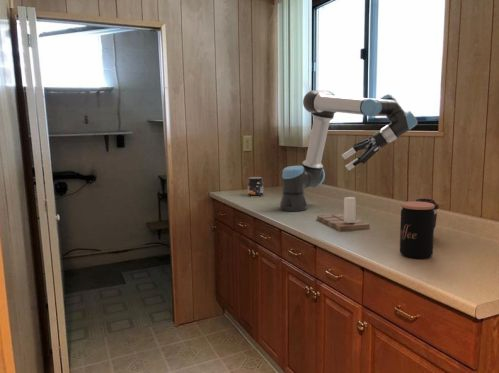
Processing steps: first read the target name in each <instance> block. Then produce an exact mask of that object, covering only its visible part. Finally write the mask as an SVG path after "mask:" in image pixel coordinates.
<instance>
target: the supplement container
mask: <svg viewBox="0 0 499 373" xmlns="http://www.w3.org/2000/svg"><path fill="white" fill-rule="evenodd" d="M247 195H248V196H249V195H250V196H249V197H251V196H259V197H262V196H261V195H263V196H264V181H263V177H261V176H250V177H247Z"/></svg>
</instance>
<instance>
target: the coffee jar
mask: <svg viewBox="0 0 499 373" xmlns="http://www.w3.org/2000/svg"><path fill="white" fill-rule="evenodd" d="M400 205H401V207H402V208H401V210H400V233H399V235H400V236H399V252H400V253H401V255H402V256H403V257H405V258H408V259H412V260H428V259H430V258H431V257H432V255H433V254H434V237H433V235H434V236H435V230H434V211H433V209H434V207H435V205H434V204H432V203H428V202H419V201H416V200H415V201H413V200H412V201H402V202H401V203H400Z"/></svg>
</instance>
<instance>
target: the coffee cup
mask: <svg viewBox="0 0 499 373" xmlns="http://www.w3.org/2000/svg"><path fill="white" fill-rule="evenodd" d="M415 201H419V202H428V203H432V204H434V205H435V207H434V209H433V211H434V231H436V229H435V228H436V226H437V216H438V212H437V211H438V209H439V208H440V206H439V204H438V203H436V201H435V200H434V199H431V198H418V199H417V198H416V199H415ZM434 236H435V234H434V235H433V238H434Z"/></svg>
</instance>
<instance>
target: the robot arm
mask: <svg viewBox="0 0 499 373" xmlns="http://www.w3.org/2000/svg"><path fill="white" fill-rule="evenodd" d="M302 104H303V108H304V109H305V110H306V111H307V112H309V113H311V115H312V118H313V122H312V126H311V132H310V136H309V137H310V138H309V143H308V148H307V152H306V155H305V156H306V157H305V159H304V160H303V161H302V162H301V163H302V164H301V165H291V166H286V167H284V168H283V169H282V174H281V177H282V196H281V200H280V203H279V210H281V211H284V212H302V211H306V210H308V204H307V200H306V197H305V189H308V188H316V187H318V186H321V185H322V183H324V181H325V177H326V173H325V169H324V165H323V163H322V160H323V156H324V155H323V154H324V150H325V147H326V146H325V145H326V141H327V136H328V131H329V126H330V122H331V120H333V119H334V117H335V114H336V113H343V114H351V115H352V114H353V115H362V116H367V117H386V119H387V120H389V122H390V123H387V124H386V125H385V126H383V127H382V128H380V130H378V131H376V132H374V134H372V136H369V137H367V138H366V139H362V140H361V141H358V142H356V143H354V144H353V146H352V147H351V148H350V149H349V150H347V151H345V152H344V153H342V154H341V157H342V158H343V159H344V160H347V159H348V158H349V157H352V156H353V155H354V154H356V153H358V151H360V150H364V151H363V152H362V153H361V155H359V156H358V157H357V158H355V159H354V160H351V161H350V162H349V163H347V164H345V168H346V169H347V171H350V170H352V169H354V168H355V167H357V166H359V165H360V164H363V165H364V164H365V163H367V162H368V161H369V160H370V159H371V158H372V157H373V156H374V155H375V154H376V153H377V152H379V151H380V149H379V148H385V147H386V146H387V145H388V144H389V143H391V142H395V141H396V139H397V138H400V137H401V136H402V135H404V134H405V133H407V132H409V131H411V129H413V128H414V127H416V126H417V125H418V120H417V118H416V116H415V115H414V114H413V112H412V111H410V110H408V111H405V110H404V109H403V108H402V106H401V105H400V104H399V102H398V101H397V99H396V98H395V97H394V96H393V95H392V94H390V93H387V94H384V95H383V96H381V97H380V98H374V97H373V98H369V97H368V98H367V97H355V96H344V95H342V96H341V95H338V94H337V93H336V92H335V91H331V90H316V89H315V90H313V89H312V90H310V91H308V92H307V93H306V94H305V95H304V96H303V99H302Z"/></svg>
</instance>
